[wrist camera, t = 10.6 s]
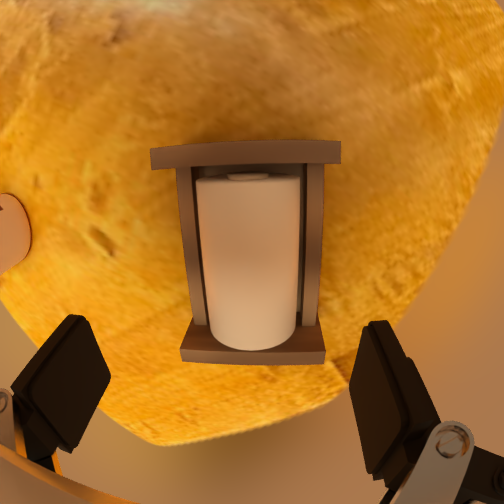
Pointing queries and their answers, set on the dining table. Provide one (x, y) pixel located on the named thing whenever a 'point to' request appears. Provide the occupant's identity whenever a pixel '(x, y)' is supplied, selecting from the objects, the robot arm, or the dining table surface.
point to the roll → (250, 256)
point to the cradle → (310, 239)
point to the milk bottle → (12, 232)
